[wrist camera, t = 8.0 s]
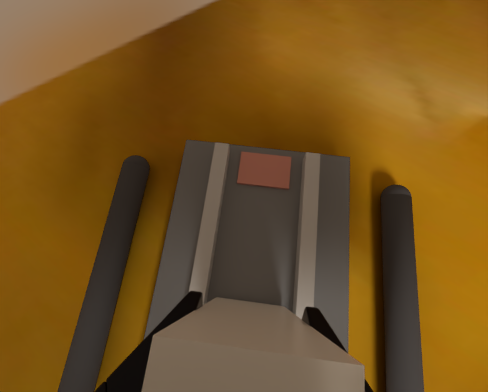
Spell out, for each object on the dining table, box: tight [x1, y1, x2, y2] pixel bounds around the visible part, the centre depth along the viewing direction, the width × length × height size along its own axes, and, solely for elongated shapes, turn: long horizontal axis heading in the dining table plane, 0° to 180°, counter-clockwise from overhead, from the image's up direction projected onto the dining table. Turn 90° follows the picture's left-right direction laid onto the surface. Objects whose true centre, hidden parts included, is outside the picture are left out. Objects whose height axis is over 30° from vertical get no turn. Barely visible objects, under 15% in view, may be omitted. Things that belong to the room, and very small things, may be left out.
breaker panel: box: [144, 140, 350, 352], centre depth 14 cm, size 16×10×2 cm, turn 173°
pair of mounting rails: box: [58, 155, 424, 392], centre depth 14 cm, size 14×18×2 cm
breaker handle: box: [141, 297, 365, 392], centre depth 8 cm, size 2×3×10 cm
